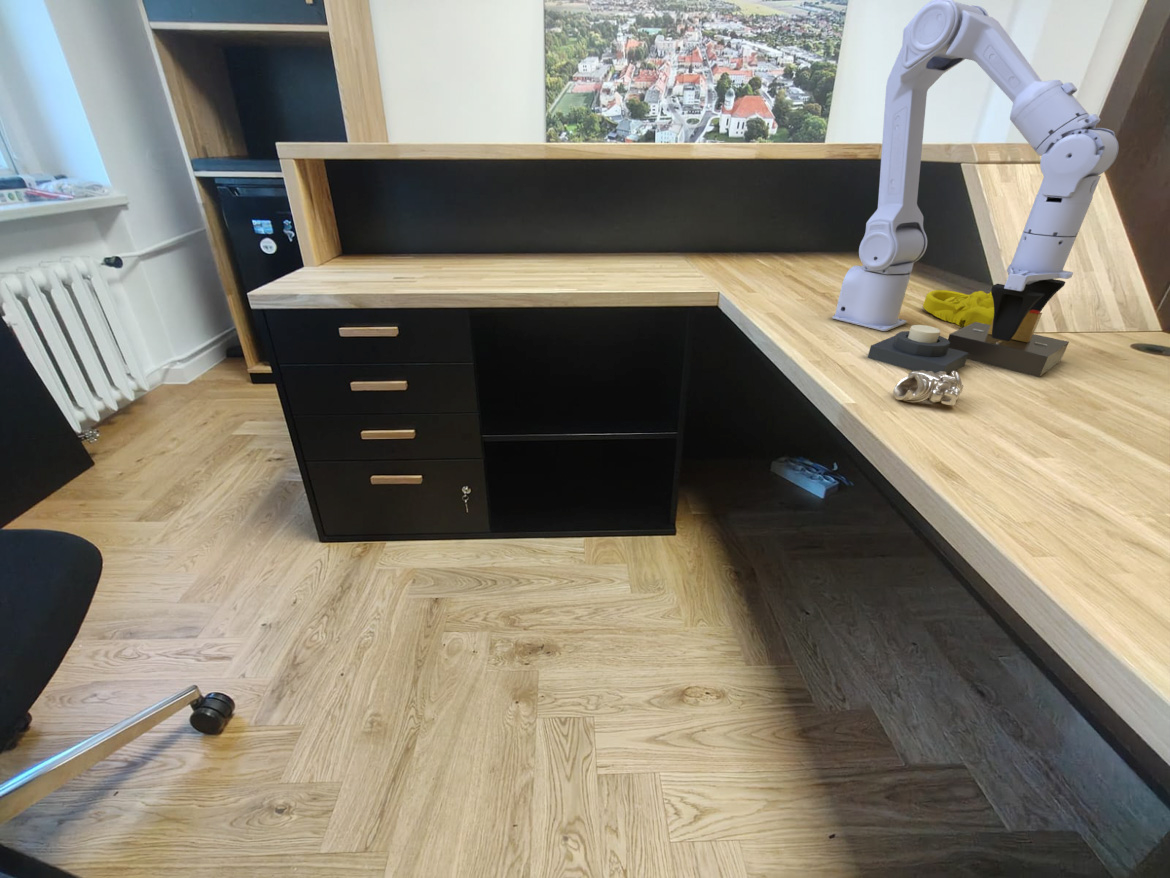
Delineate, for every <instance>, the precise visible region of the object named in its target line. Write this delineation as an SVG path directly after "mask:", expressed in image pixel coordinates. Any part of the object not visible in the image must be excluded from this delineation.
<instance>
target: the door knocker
mask: <svg viewBox="0 0 1170 878" xmlns="http://www.w3.org/2000/svg"><path fill="white" fill-rule="evenodd" d="M922 308H923V309H924V310H925V311H926V312H928V313H930V314H931V315H933V316H934V317H936V318H938V319H939V320H942V321H945V322H949V323H952V324H956V325H957V326H959V328H964V327H966V326H968V325H970V324H972V323H974V322H978V323H983V324H988V325H991V323H992V320H993V318H994V302H993V297H992V294H991V290H990V292H988V293H987V292H985V291H983V290H978V291H974V292H973V291H972V293H969V294H967V293H963V292H959V291H954V290H947V289H934V290H931V291H929V292H927V294H926V296H925V297H924V301H923V304H922Z"/></svg>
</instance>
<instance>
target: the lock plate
mask: <svg viewBox="0 0 1170 878" xmlns="http://www.w3.org/2000/svg"><path fill="white" fill-rule="evenodd" d="M990 326H991V325H988V324H983V323H978V322H974V323H972V324H970V325H968V326H966V327H964V326H963V327H960V328H959V329H958V330H955V331H953V332H951V333H949V335H948V337H947V339H948V341H949V342H950V345H949V348H951V349H955V350H959V351H964V352H968V353H969V354H968V357H967V360H968V361H973V362H977V363H980V364H985V365H988V366H992V367H995V368H1000V369H1003V370H1008V371H1011V372H1015V373H1020V374H1024V375H1028V376H1032V377H1035V378H1040V377H1042V376H1043V375H1044V374H1045V373H1047V372H1048V371H1050V370H1051V369H1052V368H1054V367H1055V366H1056V365H1057V364H1059V363H1061V361H1062V359H1063V357H1064V354H1065V352H1066V349H1067V348H1068V345H1069V344H1070V341H1067V340H1063V339H1059V338H1053V337H1050V336H1044V335H1039V334H1036V333H1034V334H1033V336H1032V339H1031V341H1029V342H1028V343H1027V342H1022V341H1018V340H1013V339H1011V340H1010V341H1004V340H1000V339H995V338H992V335H991V334H988V331H989V328H990Z"/></svg>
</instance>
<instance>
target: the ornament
mask: <svg viewBox="0 0 1170 878" xmlns="http://www.w3.org/2000/svg"><path fill="white" fill-rule="evenodd" d="M963 389H964V384H963V383H962V379H961V376H960V374H959V372H958V371H957V370H956V371H952V372H951V373H950V375H946V372H943V371H939V372H937V373H934V372H932V371H928V372H926V371H924V370H920V371H912V370H911V371H910V372H908V374H907V375H906V376H905V377H903V378H902V379H900V380H899V381H898V382H897V383H896V385H895V386H894V388H893V391H892V394H893V397H894V399H896V400H897V401H904V402H905V403H909V404H910V403H911V404H916V403H917V404H918V403H922V402H924V401H926V400H928V401H929V402H932V403H941V404H942V405H947V406H955V405H956V402H957V400H958V399H959V398H960V396H961V394H962V393H963Z"/></svg>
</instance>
